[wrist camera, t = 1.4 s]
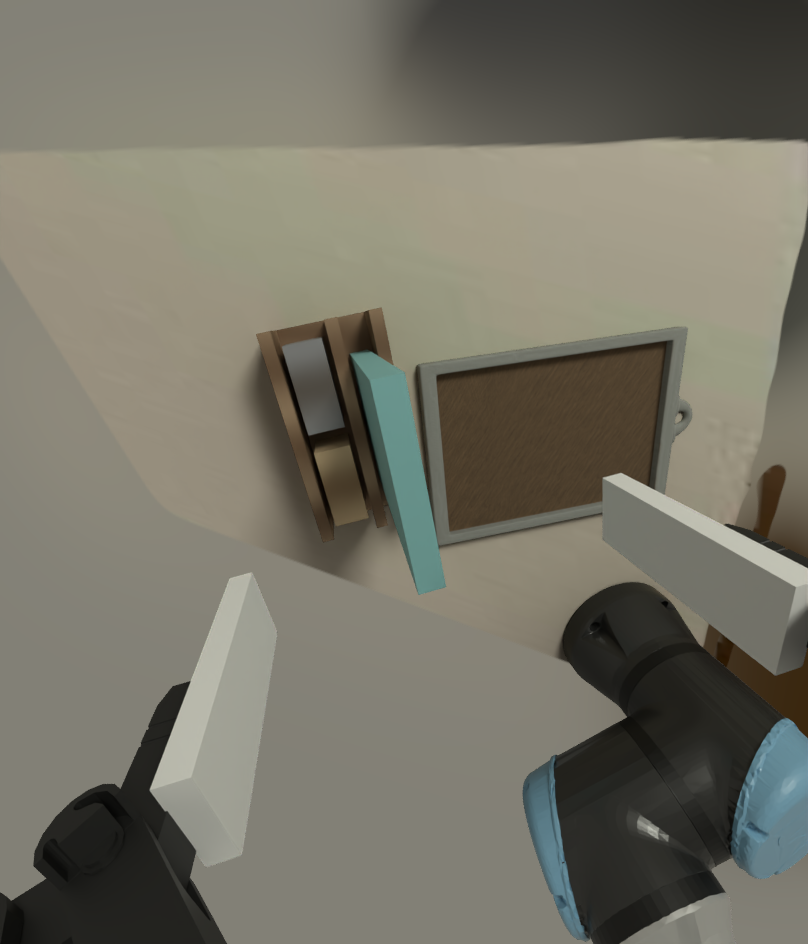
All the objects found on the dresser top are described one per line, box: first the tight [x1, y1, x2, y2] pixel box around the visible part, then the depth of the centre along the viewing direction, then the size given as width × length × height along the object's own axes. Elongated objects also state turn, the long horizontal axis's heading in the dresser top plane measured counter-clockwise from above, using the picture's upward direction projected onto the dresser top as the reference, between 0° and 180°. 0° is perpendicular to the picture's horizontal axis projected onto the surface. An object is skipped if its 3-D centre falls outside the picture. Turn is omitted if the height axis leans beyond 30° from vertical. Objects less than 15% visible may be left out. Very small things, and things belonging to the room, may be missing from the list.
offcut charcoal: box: [282, 337, 345, 435], centre depth 33 cm, size 7×3×4 cm, turn 12°
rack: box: [256, 308, 393, 542], centre depth 35 cm, size 18×9×5 cm, turn 12°
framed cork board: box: [417, 327, 692, 546], centre depth 42 cm, size 19×2×30 cm
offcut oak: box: [314, 433, 369, 526], centre depth 36 cm, size 7×3×4 cm, turn 12°
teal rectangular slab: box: [350, 350, 446, 595], centre depth 28 cm, size 12×2×18 cm, turn 12°
